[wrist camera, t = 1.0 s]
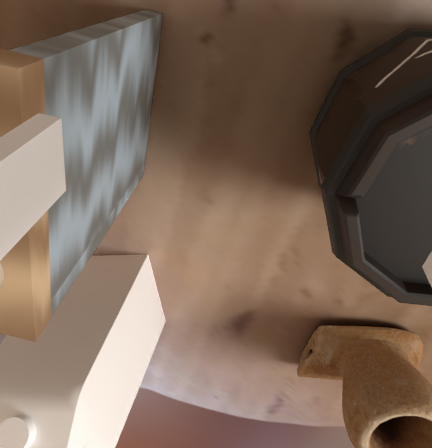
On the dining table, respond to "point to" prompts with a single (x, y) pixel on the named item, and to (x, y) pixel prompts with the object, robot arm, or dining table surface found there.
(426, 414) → the stone cup
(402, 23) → the dining table surface
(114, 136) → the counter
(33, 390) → the milk
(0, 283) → the white ceramic cylinder
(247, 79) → the dining table surface
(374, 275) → the black octagonal canister
